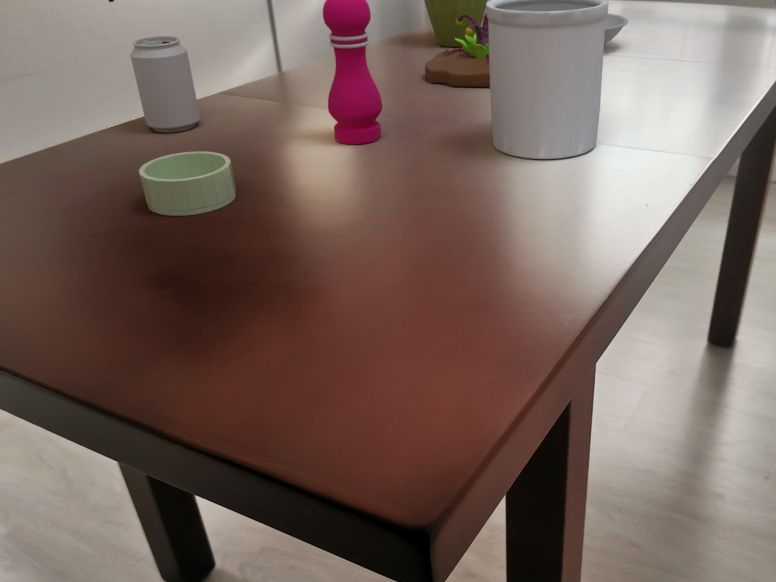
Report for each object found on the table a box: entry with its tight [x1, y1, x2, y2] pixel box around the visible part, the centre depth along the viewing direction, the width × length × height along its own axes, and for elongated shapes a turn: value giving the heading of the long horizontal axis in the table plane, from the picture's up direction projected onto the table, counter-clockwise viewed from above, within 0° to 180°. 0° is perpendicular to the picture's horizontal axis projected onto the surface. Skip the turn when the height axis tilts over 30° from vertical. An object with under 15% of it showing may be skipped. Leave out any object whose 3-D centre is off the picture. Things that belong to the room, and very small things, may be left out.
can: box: [129, 35, 201, 133], centre depth 114 cm, size 8×8×12 cm
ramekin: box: [138, 150, 237, 217], centre depth 91 cm, size 10×10×4 cm
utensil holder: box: [485, 0, 609, 160], centre depth 102 cm, size 15×15×18 cm
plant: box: [424, 11, 490, 88], centre depth 136 cm, size 20×20×11 cm
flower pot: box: [423, 0, 488, 48], centre depth 157 cm, size 15×15×16 cm
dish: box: [604, 13, 629, 44], centre depth 154 cm, size 18×14×5 cm
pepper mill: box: [322, 0, 383, 146], centre depth 105 cm, size 7×7×20 cm
